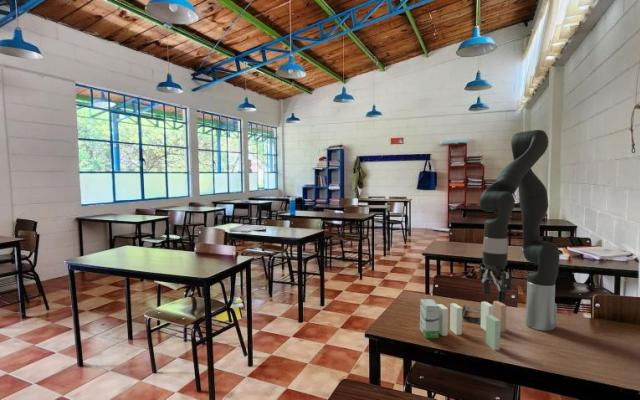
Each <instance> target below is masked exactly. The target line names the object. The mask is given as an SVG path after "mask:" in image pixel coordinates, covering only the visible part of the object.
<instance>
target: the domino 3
mask: <svg viewBox="0 0 640 400" xmlns="http://www.w3.org/2000/svg"><path fill="white" fill-rule="evenodd" d="M480 310H481V313H480V318H481V324H480V328H481V329H482V330H484V331H485V332H486V315H492V316H494V306H493V304H491V303H489V302H488V301H480Z"/></svg>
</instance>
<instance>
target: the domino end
mask: <svg viewBox="0 0 640 400" xmlns="http://www.w3.org/2000/svg"><path fill="white" fill-rule="evenodd" d="M492 305H493V306H494V317H496V318H497V319H499V320H500V321H501V327H500V333H503V332H506V331H507V330H506V329H507V327H506V326H507V325H506V324H507V305H506V304H505V303H504V302H498V300H493V301H492Z"/></svg>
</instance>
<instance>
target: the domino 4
mask: <svg viewBox="0 0 640 400" xmlns="http://www.w3.org/2000/svg"><path fill="white" fill-rule="evenodd" d="M500 327H501V321H500V320H499V319H497V318H496V317H494V316H492V315H486V331H485V344H486V346H489V348H491V349H492V350H493V351H500V349H501V332H500Z"/></svg>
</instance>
